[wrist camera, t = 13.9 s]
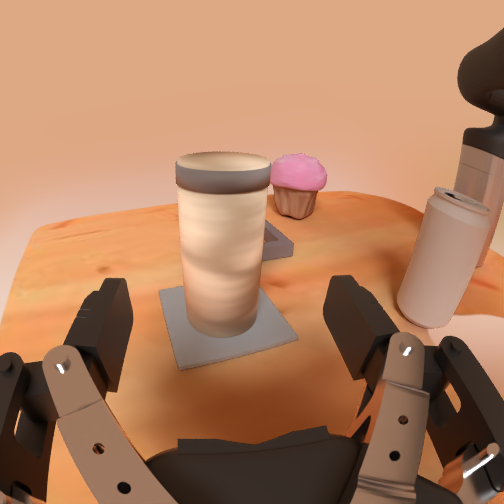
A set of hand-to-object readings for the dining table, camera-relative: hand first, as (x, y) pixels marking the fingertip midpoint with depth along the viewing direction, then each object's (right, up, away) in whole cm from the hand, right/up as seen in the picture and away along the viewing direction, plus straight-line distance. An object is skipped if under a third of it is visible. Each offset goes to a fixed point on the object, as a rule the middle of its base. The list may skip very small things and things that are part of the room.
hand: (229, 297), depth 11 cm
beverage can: (+18, -4, +13) cm, 22 cm away
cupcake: (+7, +7, +34) cm, 35 cm away
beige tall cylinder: (-2, -3, +11) cm, 12 cm away
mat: (-2, -3, +12) cm, 12 cm away
